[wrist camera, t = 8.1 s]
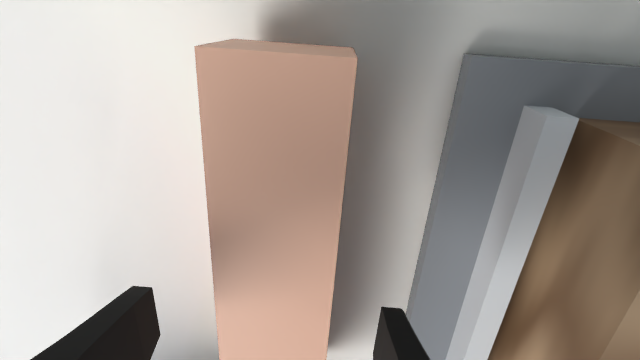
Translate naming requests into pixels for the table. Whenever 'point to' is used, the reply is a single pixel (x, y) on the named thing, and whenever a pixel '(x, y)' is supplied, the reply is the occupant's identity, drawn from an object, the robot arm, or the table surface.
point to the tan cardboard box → (583, 257)
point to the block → (274, 190)
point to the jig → (500, 188)
